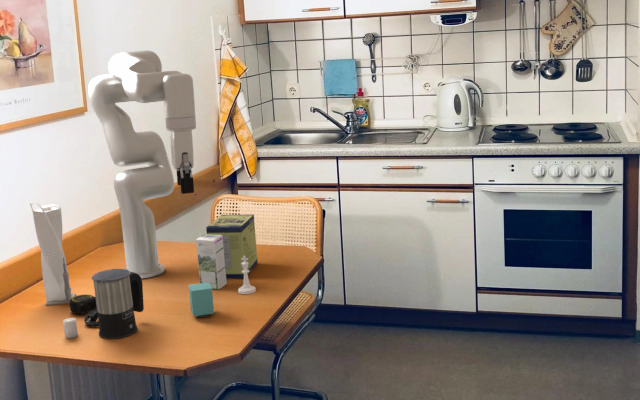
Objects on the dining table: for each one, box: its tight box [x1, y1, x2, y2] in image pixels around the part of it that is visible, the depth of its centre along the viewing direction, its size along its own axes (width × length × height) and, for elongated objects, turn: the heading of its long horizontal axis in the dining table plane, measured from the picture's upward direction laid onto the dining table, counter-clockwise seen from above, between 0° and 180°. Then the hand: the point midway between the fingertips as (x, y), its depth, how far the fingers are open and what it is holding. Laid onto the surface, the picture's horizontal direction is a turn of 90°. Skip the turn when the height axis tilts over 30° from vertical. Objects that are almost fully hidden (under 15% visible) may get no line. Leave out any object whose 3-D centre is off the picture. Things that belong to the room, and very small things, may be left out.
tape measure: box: [68, 294, 97, 314], centre depth 214 cm, size 7×7×4 cm
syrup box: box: [195, 234, 228, 290], centre depth 227 cm, size 6×6×14 cm
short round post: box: [62, 317, 79, 339], centre depth 197 cm, size 3×3×4 cm
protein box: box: [205, 214, 258, 280], centre depth 241 cm, size 10×16×16 cm
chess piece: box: [237, 256, 257, 295], centre depth 222 cm, size 5×5×10 cm
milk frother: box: [83, 268, 145, 340], centre depth 200 cm, size 14×16×15 cm
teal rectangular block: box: [188, 282, 215, 317], centre depth 206 cm, size 5×5×7 cm
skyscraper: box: [29, 201, 77, 306], centre depth 222 cm, size 8×8×28 cm
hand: (185, 188), depth 211 cm, fingers open, 9 cm apart
